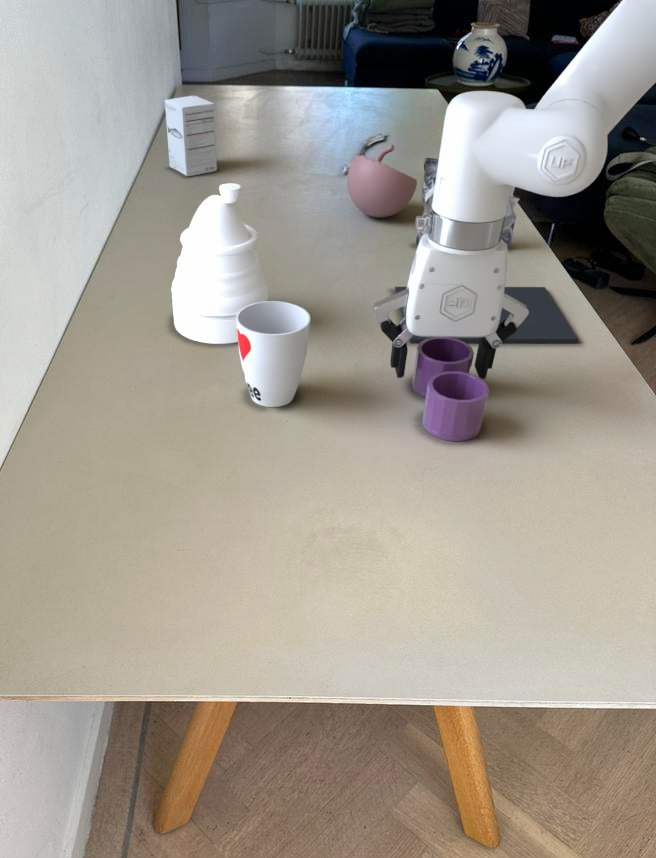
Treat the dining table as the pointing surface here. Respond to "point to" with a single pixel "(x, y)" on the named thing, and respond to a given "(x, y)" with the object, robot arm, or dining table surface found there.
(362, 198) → the mortar and pestle
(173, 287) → the honey pot
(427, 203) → the meal
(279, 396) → the cup
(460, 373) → the purple faceted cup
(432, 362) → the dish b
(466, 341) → the mat
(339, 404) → the dining table surface
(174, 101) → the white packaging box
